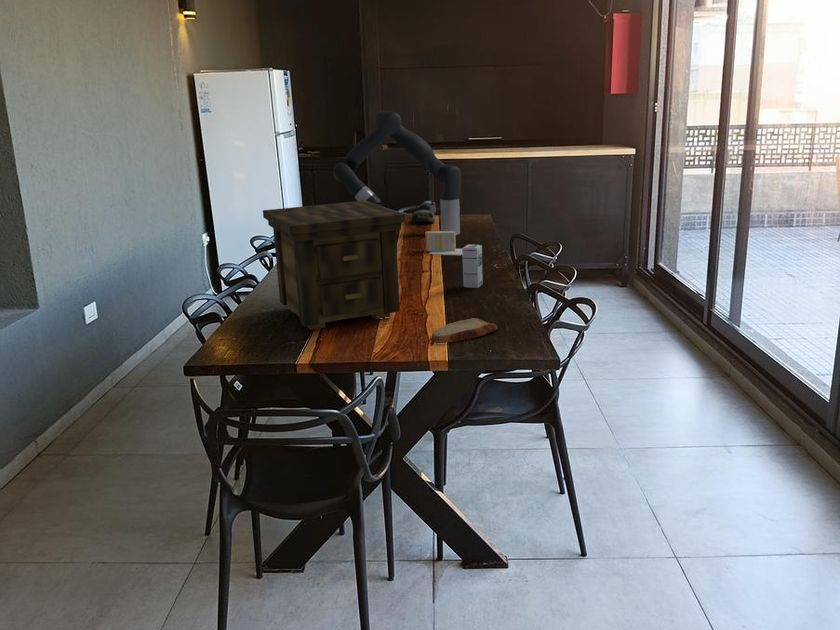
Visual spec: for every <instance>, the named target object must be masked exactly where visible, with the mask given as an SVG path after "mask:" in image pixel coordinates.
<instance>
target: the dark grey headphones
mask: <svg viewBox="0 0 840 630" xmlns="http://www.w3.org/2000/svg"><path fill="white" fill-rule="evenodd" d="M436 206H437V205H436V200H426V201H425V200H424V201H423V202H422V203H421V204H419V206H416V211H415V212H413V214H412V216H411V219H410V220H409V222H410V223H412V224H413V223H429V224H435V221H436V219H435V214H436V211H437V208H436Z"/></svg>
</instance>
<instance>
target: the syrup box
mask: <svg viewBox="0 0 840 630" xmlns="http://www.w3.org/2000/svg"><path fill="white" fill-rule="evenodd" d="M461 249H462V277H463V278H462V282H463V287H464V288H469V289H470V288H471V289H479V288H480V287H481V286H482V285H483V284H484V283H483V282H484V278H483V277H484V275H483V271H484V270H483V245H481V244H466V245H465V246H464V247H462V248H461Z"/></svg>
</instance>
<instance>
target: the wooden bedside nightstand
mask: <svg viewBox="0 0 840 630" xmlns="http://www.w3.org/2000/svg"><path fill="white" fill-rule="evenodd" d="M380 205H381V204H380ZM380 205H377V204H374V203H371V202H369V201H357V200H355V201H347V202H346V201H345V202H337V203H336V202H335V203H328V204H327V203H326V204H314V205H305V206H297V207H296V206H295V207H284V208H283V207H282V208H274V209H273V208H272V209H263V210H262V216H263V219H265V220H267V222H268V226H269V227H271V228H272V229H273V230H272V232H273V239H274V249H275V250H274V251H275V252H274V253H275V259H276V261H275V262H276V273H277V282H278V293H279V302H280V304H281V305H283V306H287V307H288V308H289V311H290V312H291V313H292V314H295V315H296V316H297V317H298V318H299V323H300V325H302V327H306V326H307V327H308V328H309V329H310V330H312V331H314V330H313V329H318V330H321V329H320V328H325V329H326V323H329V322H334V321H340V320H346V319H348V320H349V319H355V318H359V317H366V316H370V317H371V316H373V317H374V318H375V319H380V318H385V317H390V318H391V314H392V313H401V312H400V311H401V310H400V308H401V307H400V289H399V288H400V287H399V266H398V248H397V243H398V242H397V241H398V240H397V231H401V230H402V225H401V224H402V223H407V219H406V218H407V216H406V215H407V214H406V213H402V212H401V211H398V210H395V209H392V208H388V207H386V206H383V205H381V206H380ZM373 317H372V318H373ZM374 318H373V319H374ZM375 319H374V320H375ZM307 327H306V328H307ZM308 328H307V329H308ZM309 329H308V330H309ZM310 330H309V331H310Z"/></svg>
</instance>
